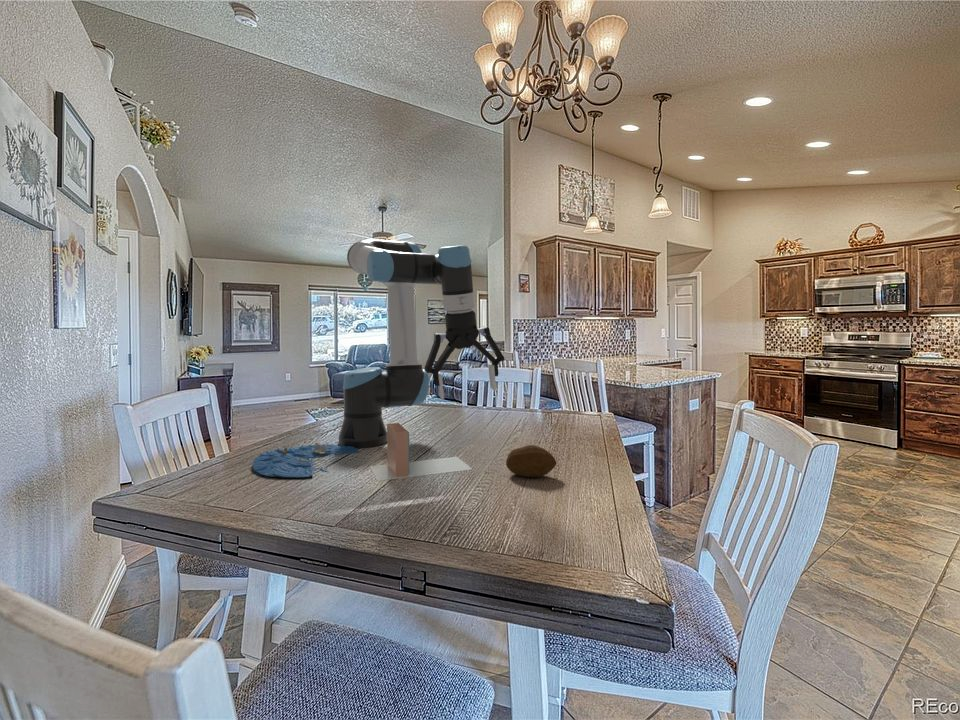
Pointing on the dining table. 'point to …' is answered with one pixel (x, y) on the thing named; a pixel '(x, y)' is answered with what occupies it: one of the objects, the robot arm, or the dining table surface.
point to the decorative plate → (296, 460)
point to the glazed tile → (398, 449)
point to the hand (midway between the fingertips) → (467, 393)
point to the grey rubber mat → (422, 468)
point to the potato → (530, 461)
